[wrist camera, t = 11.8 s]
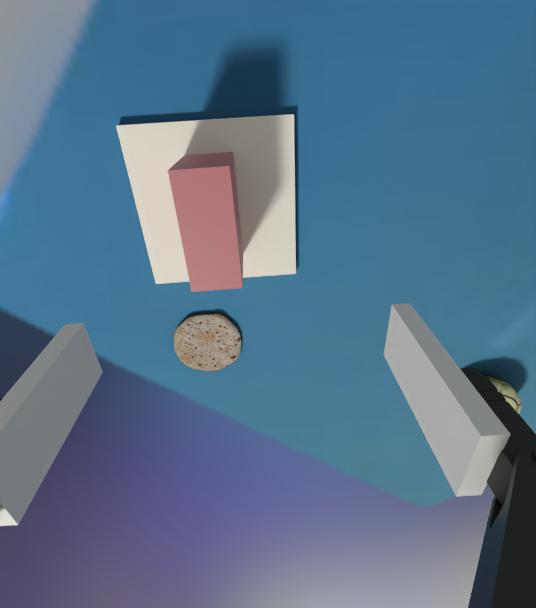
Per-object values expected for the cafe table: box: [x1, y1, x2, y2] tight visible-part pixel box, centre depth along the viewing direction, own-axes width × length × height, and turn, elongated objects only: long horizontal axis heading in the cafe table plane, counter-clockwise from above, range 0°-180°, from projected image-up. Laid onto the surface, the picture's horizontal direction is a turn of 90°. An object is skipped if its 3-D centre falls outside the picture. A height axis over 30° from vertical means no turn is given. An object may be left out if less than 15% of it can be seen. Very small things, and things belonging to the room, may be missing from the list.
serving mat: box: [116, 114, 296, 284], centre depth 31 cm, size 14×14×1 cm
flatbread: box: [174, 314, 241, 371], centre depth 38 cm, size 8×8×1 cm
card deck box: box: [168, 152, 243, 292], centre depth 27 cm, size 9×4×7 cm, turn 3°
